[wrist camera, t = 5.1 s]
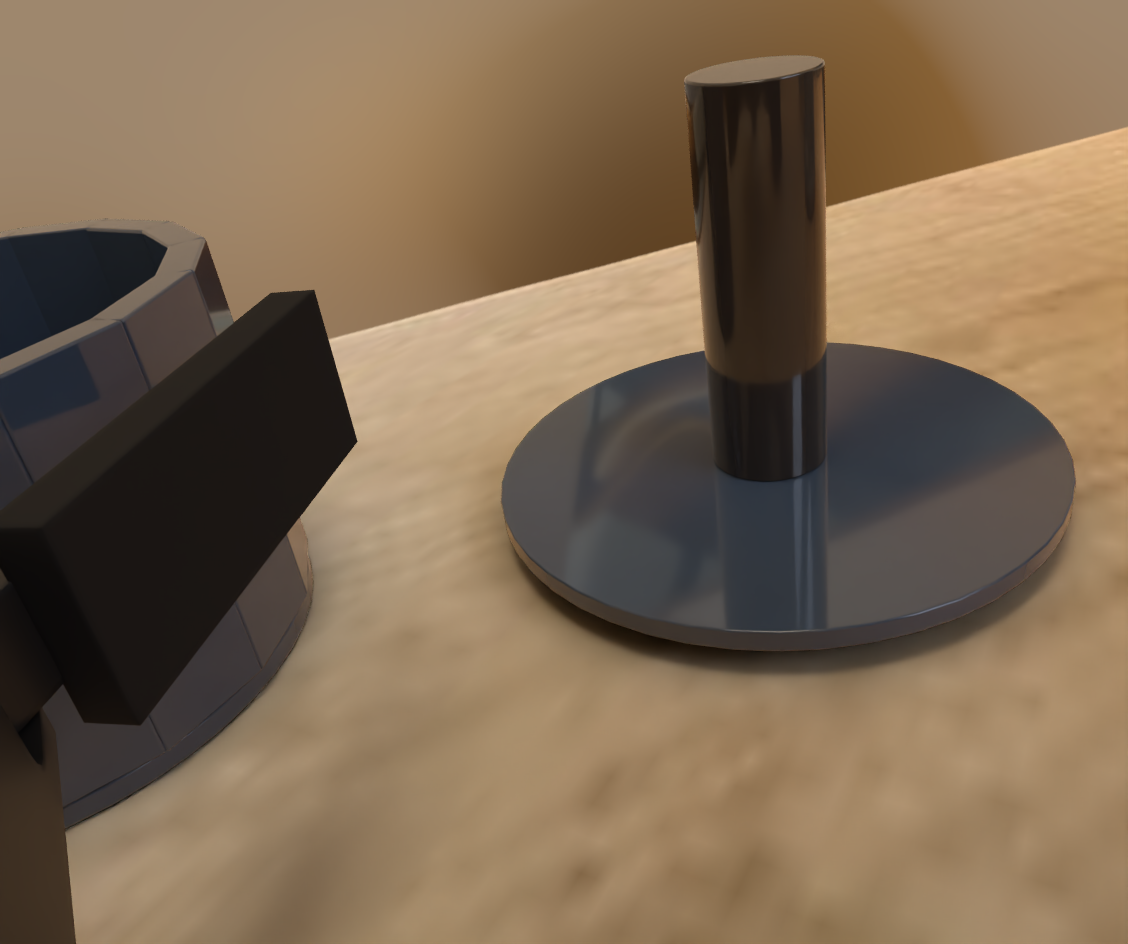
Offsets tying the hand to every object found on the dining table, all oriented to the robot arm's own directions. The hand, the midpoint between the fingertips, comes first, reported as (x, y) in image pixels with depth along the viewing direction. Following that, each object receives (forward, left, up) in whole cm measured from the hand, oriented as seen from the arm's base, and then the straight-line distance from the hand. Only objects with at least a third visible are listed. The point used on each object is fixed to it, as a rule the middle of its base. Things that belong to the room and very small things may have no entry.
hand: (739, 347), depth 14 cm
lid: (-3, -7, -7) cm, 11 cm away
